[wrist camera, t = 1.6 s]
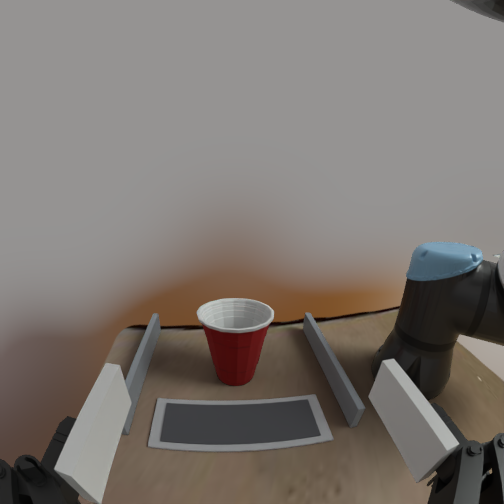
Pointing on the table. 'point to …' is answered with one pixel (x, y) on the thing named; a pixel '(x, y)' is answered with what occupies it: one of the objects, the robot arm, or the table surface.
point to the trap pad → (238, 424)
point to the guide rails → (320, 346)
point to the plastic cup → (235, 336)
